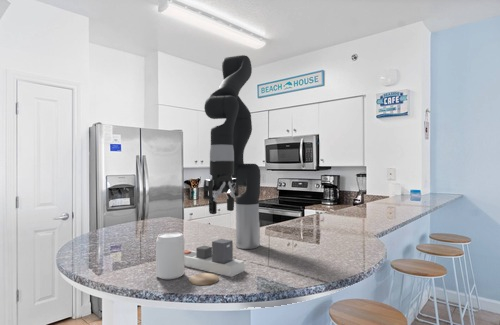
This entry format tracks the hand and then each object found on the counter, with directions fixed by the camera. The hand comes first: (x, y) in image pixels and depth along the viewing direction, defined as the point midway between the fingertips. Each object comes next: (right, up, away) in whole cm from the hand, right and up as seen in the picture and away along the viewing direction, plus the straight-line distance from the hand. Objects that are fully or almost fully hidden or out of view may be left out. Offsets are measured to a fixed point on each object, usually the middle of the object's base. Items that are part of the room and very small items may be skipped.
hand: (221, 212), depth 98 cm
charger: (0, -16, 0) cm, 16 cm away
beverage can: (-15, -18, -5) cm, 24 cm away
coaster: (-4, -18, -9) cm, 20 cm away
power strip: (-6, -18, +4) cm, 19 cm away
